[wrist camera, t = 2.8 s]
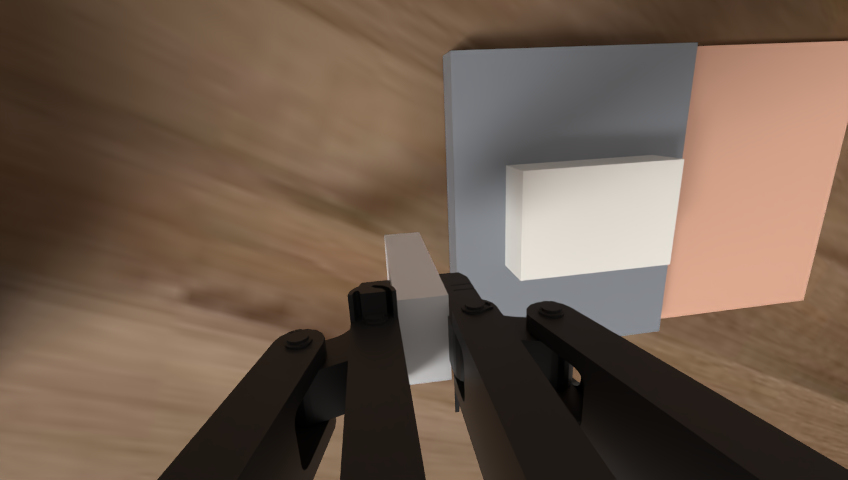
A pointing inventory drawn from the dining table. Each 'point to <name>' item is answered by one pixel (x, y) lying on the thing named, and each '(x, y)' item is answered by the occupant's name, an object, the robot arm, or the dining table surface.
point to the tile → (590, 215)
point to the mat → (756, 173)
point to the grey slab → (557, 157)
